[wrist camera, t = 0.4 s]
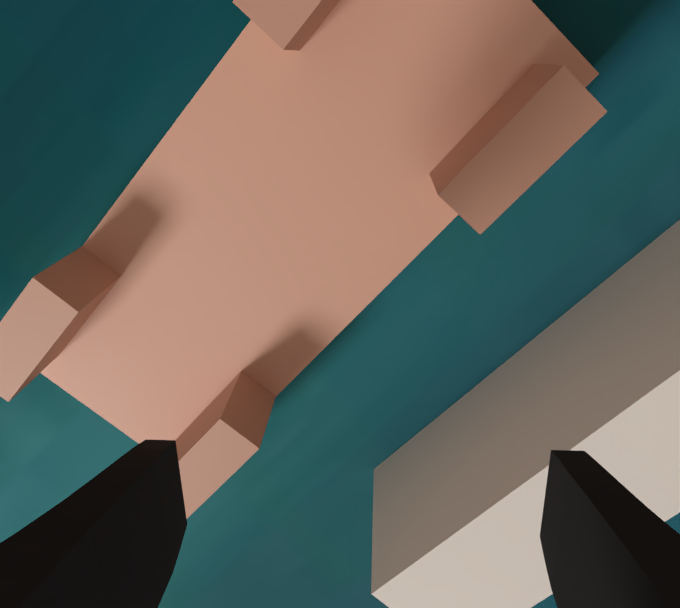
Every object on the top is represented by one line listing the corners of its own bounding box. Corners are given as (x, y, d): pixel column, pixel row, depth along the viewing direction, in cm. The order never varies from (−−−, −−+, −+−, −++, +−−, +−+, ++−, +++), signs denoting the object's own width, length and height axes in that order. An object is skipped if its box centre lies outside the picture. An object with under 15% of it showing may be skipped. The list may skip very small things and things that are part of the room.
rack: (587, 72, 17) (643, 77, 14) (198, 464, 24) (164, 540, 20) (383, -147, 16) (384, -209, 12) (22, 336, 22) (-51, 392, 18)
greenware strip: (812, 239, 19) (988, 314, 14) (437, 518, 24) (453, 657, 19) (746, 161, 18) (904, 206, 13) (373, 466, 23) (371, 593, 18)
